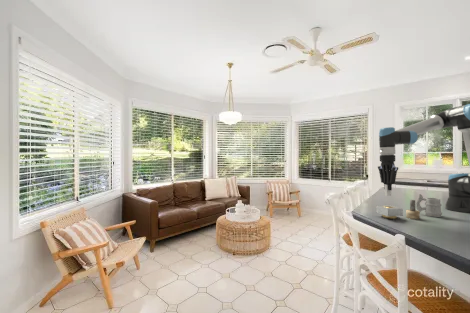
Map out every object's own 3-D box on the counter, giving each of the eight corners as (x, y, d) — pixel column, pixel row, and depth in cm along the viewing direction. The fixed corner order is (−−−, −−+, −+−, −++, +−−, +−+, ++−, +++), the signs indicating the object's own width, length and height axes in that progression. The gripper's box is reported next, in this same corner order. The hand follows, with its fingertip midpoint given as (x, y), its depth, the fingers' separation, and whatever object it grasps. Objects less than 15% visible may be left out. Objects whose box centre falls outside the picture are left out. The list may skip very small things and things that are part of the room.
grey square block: (390, 211, 137) (390, 205, 137) (402, 215, 128) (402, 208, 128) (376, 212, 136) (376, 205, 136) (387, 216, 127) (387, 209, 127)
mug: (441, 218, 129) (441, 196, 129) (415, 214, 137) (414, 194, 137) (442, 215, 134) (442, 194, 134) (417, 212, 143) (416, 192, 142)
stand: (413, 216, 134) (412, 199, 133) (422, 219, 128) (422, 201, 128) (403, 216, 133) (403, 199, 133) (412, 219, 127) (412, 201, 127)
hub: (390, 215, 136) (390, 205, 136) (399, 218, 129) (399, 208, 129) (379, 216, 135) (378, 206, 135) (388, 219, 128) (388, 208, 128)
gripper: (373, 154, 138) (374, 194, 138) (390, 154, 125) (390, 198, 125) (384, 154, 139) (385, 193, 139) (402, 154, 126) (403, 197, 126)
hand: (388, 195), depth 132 cm, fingers closed
